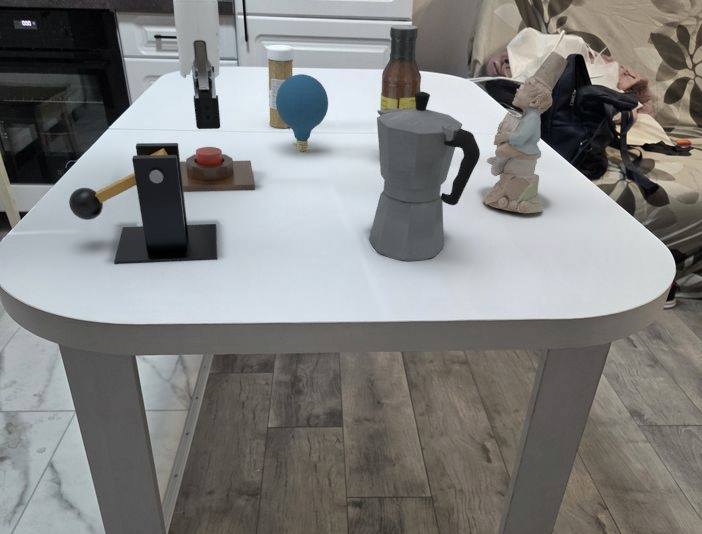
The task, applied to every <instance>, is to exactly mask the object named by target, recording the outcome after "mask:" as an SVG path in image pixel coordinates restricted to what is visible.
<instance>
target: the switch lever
mask: <svg viewBox="0 0 702 534" xmlns="http://www.w3.org/2000/svg"><path fill="white" fill-rule="evenodd" d="M151 155H168V154H167V153H166V151H165V150H164V148H163V149H161V150H159V151H157V152H155V153H153V154H151ZM135 186H136V180H135V173H134V172H132V173H130V174H128V175H126V176H124V177H122V178H121V179H119V180H116V181H115V182H112V183H111V184H109V185H107V186H105V187H103V188H101V189H99V190H97V191H96V190H94V189H92V188H90V187H80V188H78V189H75V190H74V191H73V192H72V193H71V194H70V197H69V200H68V205H69V208H70V211H71V212H72V214H73V215H75V216H76V217H77V218H79V219H81V220H86V221H91V220H94V219H96V218H98V217H99V216H100V215H101V213H102V211H103V209H104V202H106V201H108V200H110V199H113V198H114V197H116V196H119V195H120V194H122V193H124V192H125V191H128V190H129V189H132V188H133V187H135Z"/></svg>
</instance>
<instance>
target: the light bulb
mask: <svg viewBox="0 0 702 534" xmlns="http://www.w3.org/2000/svg"><path fill="white" fill-rule="evenodd" d="M328 97H329V96H328V94H327V90H326V89H325V87H324V86H323V84H322V83H321V82H320V80H318V79H317V78H315V77H313V76H311V75H308V74H304V73H303V74H302V73H301V74H293V75H292V77H290V78H288V79H286V80H285V81H284V82H283V83H282V85H281V86H280V88H279V90H278V92H277V96H276V108H277V111H278V114H279V116H280V117H281V119H282V120H283V121H284V123H285V124H287V125H288V126H289V127H288V128H290V129H291V130H292V132H293V135H294V138H295V140H296V149H297V150H298V151H299V152H306V151H307V150H308V149H309V146H308V145H309V144H308V143H309V142H308V140H309V139H310V137H311V133H312V131H313V130H314V129H315V128H316V127H317V126H319V125H321V123H322V122H323V120H324V119H325V117H326V116H327V112H328V108H329V98H328Z"/></svg>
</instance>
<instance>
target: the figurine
mask: <svg viewBox="0 0 702 534" xmlns="http://www.w3.org/2000/svg"><path fill="white" fill-rule="evenodd" d="M567 65H568V60H567V59H566V58H565V57H564V56H563V55H561V54H559V53H558V52H556V51H551V52H550V53H549V54H548V55H547V56H546V58H545V59H544V61H542V63H541V64H540V65H539V67H538V69H536V71H535V72H534V73H533V75H530V76H529V77H527V78H525V79H524V86H522V88H516V93H515V94H514V96H515V97H514V98H513V101H512V103H511V104H512V105H513V107H517V108H519V109H521V110H522V115H521V116H520V117H519V116H516V115H513V114H512V113H510V112H509V111H507V112H506V114H505V115H504V117H503V119H502V121H500V122H499V124H498V127H497V132H496V134H495V135H494V141H493V146H496V149H495V150H494V154H495V156H490V157H489V158H487V159H486V163H487V164H489V165H491V168H490V173H491V175H493V176H494V177H498V176H499V180H498V181H497V182H495V184H494V186H493V187H492V188H491V189H490V190H489V191H487V193H485V195H484V196H483V198H482V202H483V203H485V205H489V206H490V207H492V208H496V209H500V210H503V211H508V212H514V213H519V214H534V213H540V212H543V211H544V205H543V204H542V202H541V200H540V196H539V183H540V175H539V174H536V173H535V171H536V166H537V163H538V159H540V158H542V151H541V149H540V148H539V146H538V143H539V142H540V141H541V121H542V120H541V114H544V112H546V111H548V109H549V108H550V107H552V105H553V97H552V94H553V89H554V88H555V86H556V85H557V82H558V81H559V79H560V78H561V76H562V75H563V73H564V71H565V69H566V68H567Z"/></svg>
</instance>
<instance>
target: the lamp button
mask: <svg viewBox="0 0 702 534" xmlns="http://www.w3.org/2000/svg"><path fill="white" fill-rule="evenodd" d="M222 154H223V151H222V149H221V148H219V147H216V146H202V147H199V148H197V149H195V155H196V160H197V164H200V165H205V166H209V165H218V164H221V163H223V162H222Z"/></svg>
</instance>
